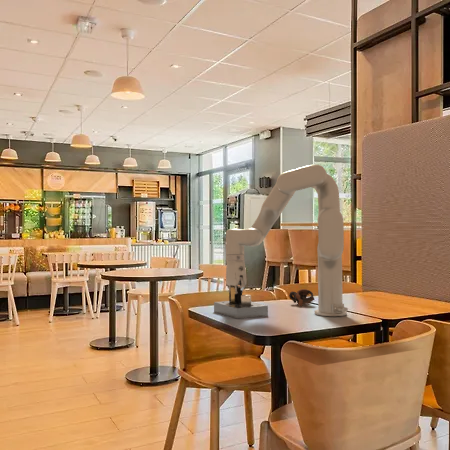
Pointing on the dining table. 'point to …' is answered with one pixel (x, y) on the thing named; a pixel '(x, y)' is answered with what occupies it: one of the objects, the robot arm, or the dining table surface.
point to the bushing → (233, 295)
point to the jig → (241, 308)
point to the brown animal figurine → (301, 297)
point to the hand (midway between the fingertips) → (235, 302)
